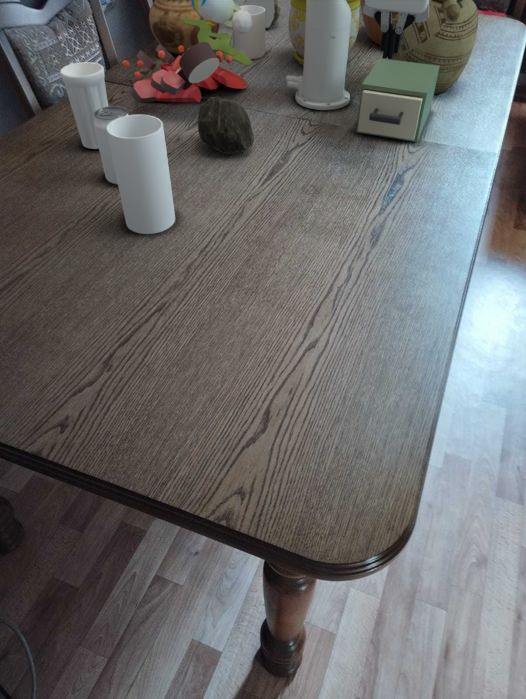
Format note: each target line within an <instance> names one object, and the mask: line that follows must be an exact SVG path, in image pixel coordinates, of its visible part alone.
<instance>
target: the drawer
mask: <svg viewBox="0 0 526 699" xmlns="http://www.w3.org/2000/svg"><path fill="white" fill-rule="evenodd" d="M422 99H423V98H421V97H417V96H410V95H403V94H396V93H389V92H382V91H375V90H369V91H368V90H364V91H363V92H362V100H361V108H360V116H359V124H358V131H359V132H365V133H371V134H377V135H384V136H390V137H396V138H402V139H408V140H414V138H415V134H416V129H417V124H418V119H419V114H420V109H421V104H422Z"/></svg>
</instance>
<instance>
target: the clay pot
mask: <svg viewBox="0 0 526 699" xmlns="http://www.w3.org/2000/svg"><path fill="white" fill-rule="evenodd" d="M186 14H187V17H188V19H189V20H203V19H202V18H201V17H200V16H199V15H198V14H197V12H196V11H195V10H194V8H193V7H192V4H191V0H154V1H153V3H152V4H151V6H150V9H149V12H148V22H149V27H150V31H151V32H152V35H153V37H154V38H155V40H156V42H157V43H158V45H159V44H160V45H162V46H163V47H164V48H165V49H166V50H167V51H168V52H169V53H172V54H176V55H180V56H182V55H183V54H184V53H185V52H186V51H187V49H188V48H190V47H192V46H194V45H196V44H198V43H199V41H198V37H197V35H198V33H199V31H200V28H199V27H197V26H192V25H187V24H185V22H184V18H185V15H186ZM205 21H206V20H205ZM207 22H208V21H207ZM220 28H221V23H218V24H216V25H214V26H211V31H212V33H220V32H219V31H220ZM209 37H210V36H209ZM210 38H212V39H213V40H217V38H214V37H210ZM179 46H183V47H184V51H183V52H179V51H178V47H179Z"/></svg>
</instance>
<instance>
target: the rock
mask: <svg viewBox="0 0 526 699" xmlns="http://www.w3.org/2000/svg"><path fill="white" fill-rule="evenodd" d="M197 131H198V135H199V136H198V137H199V138H200V140H201V142H202V143H204V145H205V146H207V148H210V149H214V150H216V151H218V152H220V153H224V154H227V155H237V154H239V153H242V152H244V151H246V150H249V149H251V148H252V147H253V145H254V138H255V134H254V133H253V128H252V124H251V120H250V117H249V114H248V112H247V111H246V109H245V107H243V106H242V105H241V104H240V103H238V102H237V101H234V100H230V99H224V98H221V97H219V96H216V97H212V96H211V97H209V98H208V99H207V100H206V101H205V102H204V103H202V104H201V105H200V106H199V111H198V115H197Z"/></svg>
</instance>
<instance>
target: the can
mask: <svg viewBox="0 0 526 699" xmlns="http://www.w3.org/2000/svg"><path fill="white" fill-rule="evenodd" d="M128 115H129V114H128V109H127V108H126V107H124V106H120V105H108V106H106V107H102V108H99V109H98V110H96V111H95V112H94V116H95V119H94V128H95V133H96V137H97V142H98V146H99V149H98V150H99V151H98V152H99V155H100V159H101V163H102V168H103V172H104V176H105V179H106V181H107V182H109V183H111V184H113V185H117V186H118V182H117V177H116V173H115V168H114V163H113V158H112V153H111V149H110V144H109V139H108V134H107V126H108V124H109V123H110V122H112V121H113V120H115V119H117V118H120V117H124V116H128Z"/></svg>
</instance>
